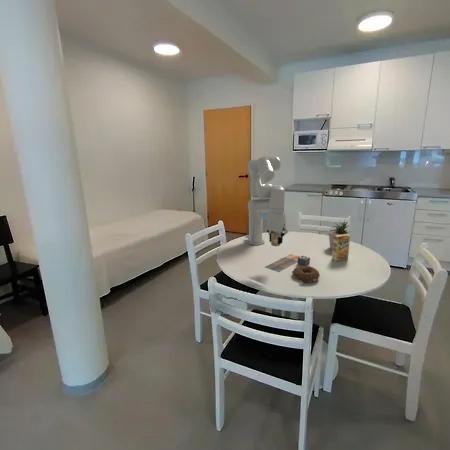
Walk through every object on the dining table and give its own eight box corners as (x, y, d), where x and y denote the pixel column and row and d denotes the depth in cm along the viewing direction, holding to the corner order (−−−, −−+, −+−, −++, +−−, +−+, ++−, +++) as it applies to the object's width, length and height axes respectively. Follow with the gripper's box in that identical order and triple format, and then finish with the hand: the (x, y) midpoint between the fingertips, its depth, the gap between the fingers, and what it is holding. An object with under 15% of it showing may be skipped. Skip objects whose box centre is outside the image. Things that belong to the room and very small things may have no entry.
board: (264, 268, 168) (264, 267, 167) (291, 255, 187) (291, 254, 187) (278, 273, 161) (278, 272, 161) (305, 259, 180) (305, 258, 180)
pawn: (269, 244, 163) (269, 226, 160) (274, 242, 167) (275, 224, 164) (276, 246, 160) (277, 228, 157) (282, 244, 163) (282, 226, 160)
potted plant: (342, 253, 189) (345, 223, 184) (323, 248, 199) (325, 219, 194) (352, 249, 196) (355, 220, 191) (333, 244, 207) (336, 216, 202)
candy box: (335, 261, 177) (338, 236, 173) (331, 258, 181) (333, 234, 177) (348, 259, 179) (350, 235, 175) (343, 256, 183) (345, 233, 179)
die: (297, 265, 171) (297, 257, 170) (301, 263, 175) (302, 255, 173) (305, 268, 168) (305, 260, 166) (309, 265, 171) (310, 257, 170)
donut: (296, 270, 165) (297, 262, 163) (321, 275, 158) (322, 267, 157) (288, 280, 153) (288, 272, 152) (315, 286, 146) (315, 277, 145)
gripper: (260, 209, 161) (259, 240, 166) (286, 214, 149) (285, 247, 154) (268, 207, 166) (267, 237, 171) (294, 211, 155) (292, 244, 160)
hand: (275, 242), depth 163 cm, fingers closed on pawn, 4 cm apart
